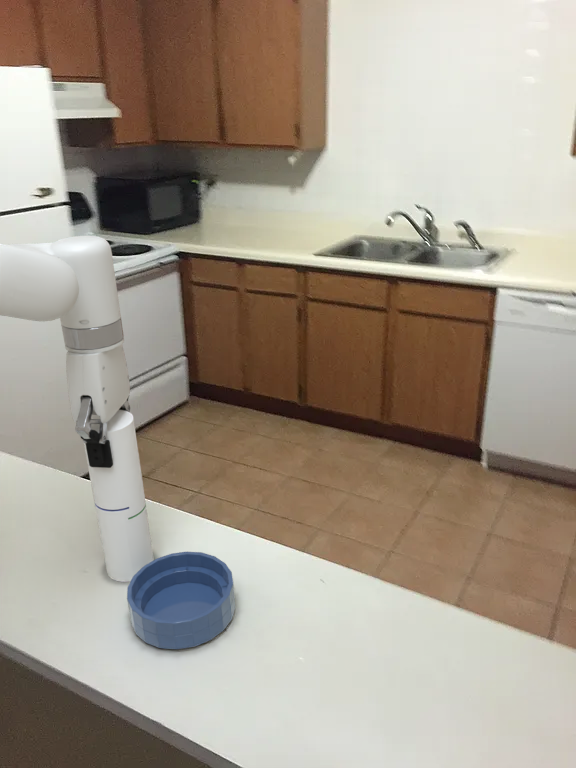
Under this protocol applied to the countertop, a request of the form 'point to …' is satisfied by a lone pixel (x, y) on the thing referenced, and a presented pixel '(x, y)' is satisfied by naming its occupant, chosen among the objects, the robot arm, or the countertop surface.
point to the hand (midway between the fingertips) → (112, 451)
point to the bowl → (181, 600)
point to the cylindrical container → (121, 501)
